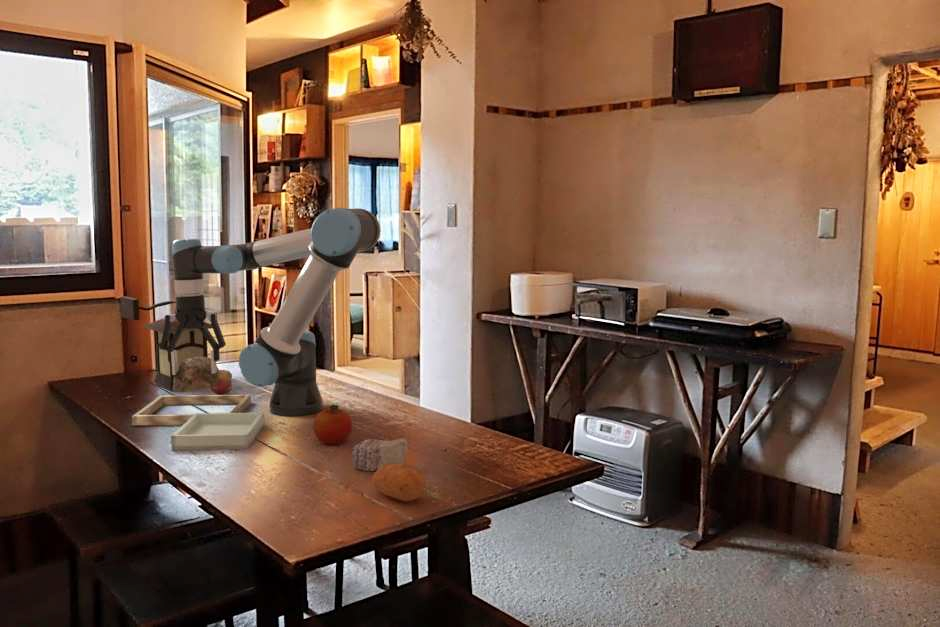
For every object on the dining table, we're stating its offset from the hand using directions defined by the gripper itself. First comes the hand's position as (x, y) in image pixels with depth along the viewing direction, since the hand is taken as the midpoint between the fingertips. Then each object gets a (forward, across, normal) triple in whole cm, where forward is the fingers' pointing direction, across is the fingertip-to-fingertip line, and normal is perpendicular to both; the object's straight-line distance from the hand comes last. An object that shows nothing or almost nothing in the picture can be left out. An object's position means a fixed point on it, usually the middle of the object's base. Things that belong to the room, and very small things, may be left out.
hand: (194, 373), depth 221 cm
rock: (+4, -1, 0) cm, 4 cm away
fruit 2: (+13, -41, +30) cm, 52 cm away
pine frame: (+12, +1, 0) cm, 12 cm away
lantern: (+11, +18, -35) cm, 41 cm away
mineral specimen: (+14, -53, +49) cm, 74 cm away
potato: (+14, -58, +69) cm, 91 cm away
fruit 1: (+12, -1, -22) cm, 25 cm away
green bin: (+12, -12, +24) cm, 29 cm away
